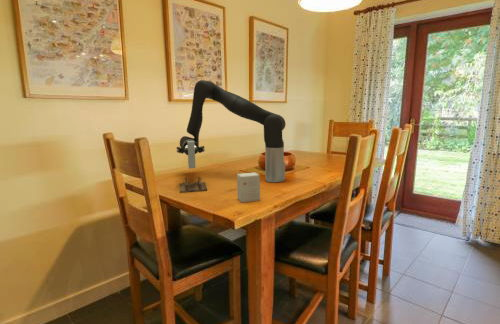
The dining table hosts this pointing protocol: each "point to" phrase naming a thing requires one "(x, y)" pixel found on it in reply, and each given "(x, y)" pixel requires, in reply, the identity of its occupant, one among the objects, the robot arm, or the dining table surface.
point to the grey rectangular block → (191, 154)
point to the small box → (248, 187)
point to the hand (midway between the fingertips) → (191, 151)
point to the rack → (192, 186)
